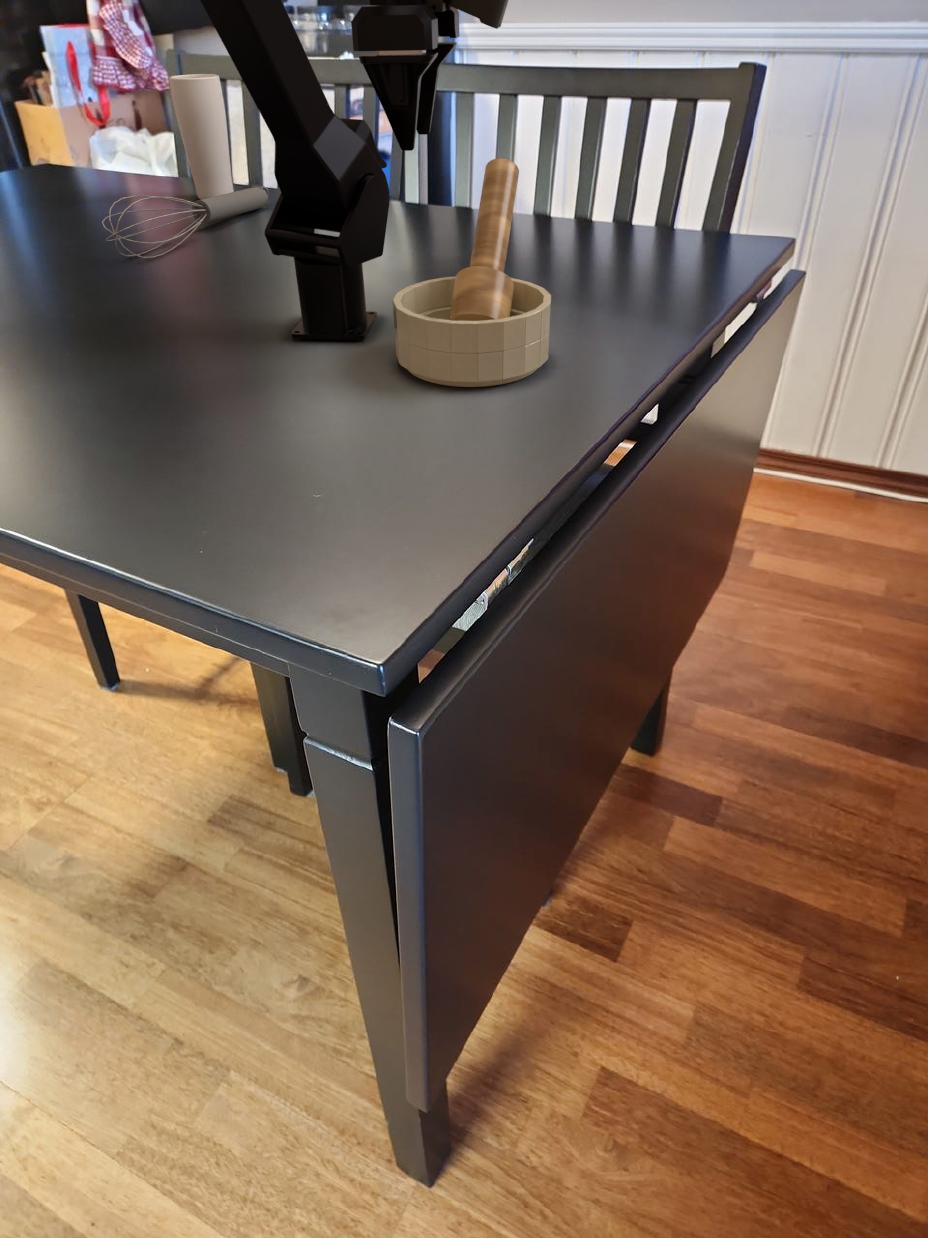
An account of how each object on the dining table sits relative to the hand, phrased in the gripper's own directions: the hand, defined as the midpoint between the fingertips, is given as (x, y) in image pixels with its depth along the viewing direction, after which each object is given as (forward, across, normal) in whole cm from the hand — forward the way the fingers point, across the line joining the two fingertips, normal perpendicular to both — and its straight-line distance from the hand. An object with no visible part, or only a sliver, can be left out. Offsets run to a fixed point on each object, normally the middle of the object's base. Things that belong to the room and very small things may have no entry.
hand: (416, 141), depth 74 cm
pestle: (+11, -18, -7) cm, 22 cm away
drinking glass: (+13, +44, +37) cm, 59 cm away
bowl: (+13, -19, -7) cm, 24 cm away
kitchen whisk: (+13, +23, +32) cm, 42 cm away
